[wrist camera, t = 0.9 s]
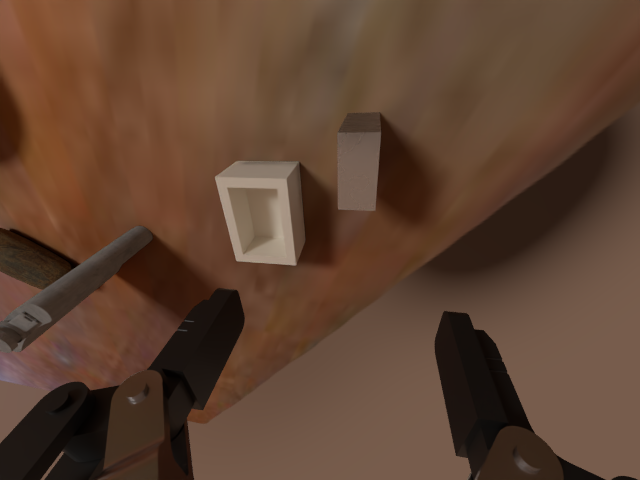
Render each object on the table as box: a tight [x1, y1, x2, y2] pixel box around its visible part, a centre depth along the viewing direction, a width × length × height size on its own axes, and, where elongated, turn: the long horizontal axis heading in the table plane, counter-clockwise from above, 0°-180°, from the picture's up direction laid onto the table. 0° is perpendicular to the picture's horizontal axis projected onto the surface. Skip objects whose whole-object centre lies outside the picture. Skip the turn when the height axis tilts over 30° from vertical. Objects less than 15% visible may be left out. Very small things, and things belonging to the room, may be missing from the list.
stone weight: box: [0, 228, 74, 290], centre depth 50 cm, size 15×7×7 cm, turn 58°
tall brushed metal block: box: [338, 112, 381, 211], centre depth 28 cm, size 4×7×10 cm, turn 2°
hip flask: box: [0, 226, 153, 353], centre depth 41 cm, size 16×4×20 cm, turn 129°
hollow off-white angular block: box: [215, 161, 306, 265], centre depth 36 cm, size 8×12×6 cm
